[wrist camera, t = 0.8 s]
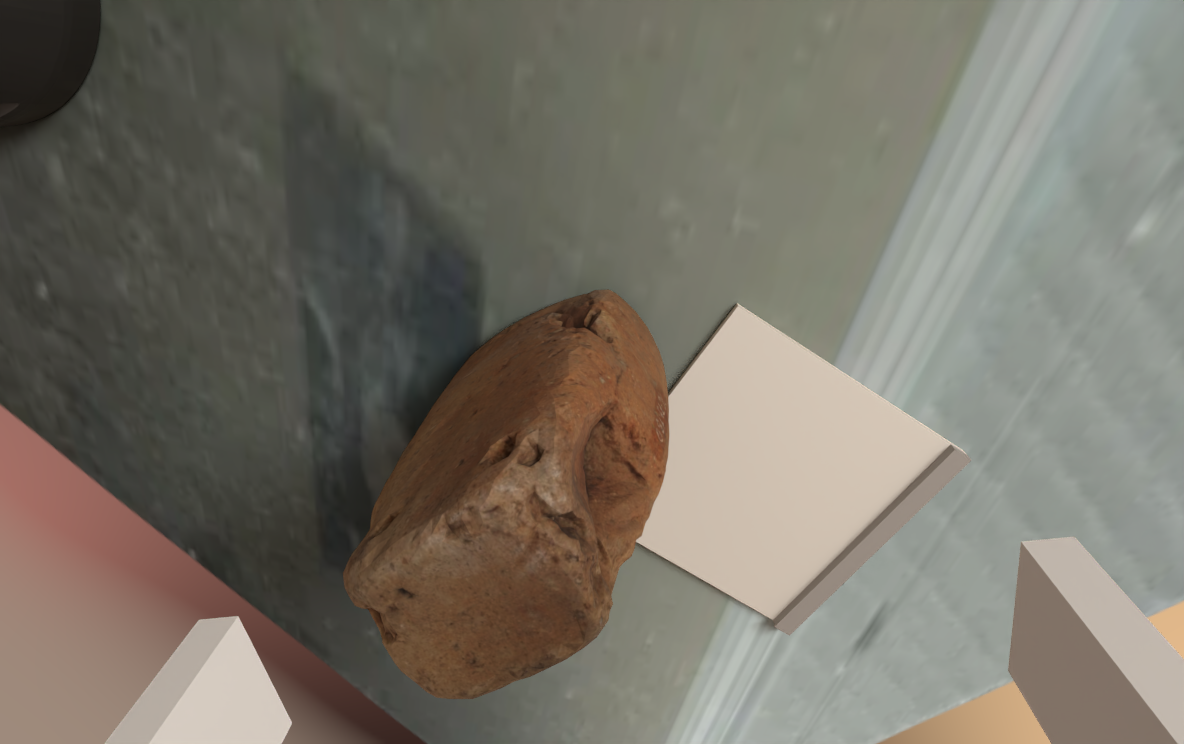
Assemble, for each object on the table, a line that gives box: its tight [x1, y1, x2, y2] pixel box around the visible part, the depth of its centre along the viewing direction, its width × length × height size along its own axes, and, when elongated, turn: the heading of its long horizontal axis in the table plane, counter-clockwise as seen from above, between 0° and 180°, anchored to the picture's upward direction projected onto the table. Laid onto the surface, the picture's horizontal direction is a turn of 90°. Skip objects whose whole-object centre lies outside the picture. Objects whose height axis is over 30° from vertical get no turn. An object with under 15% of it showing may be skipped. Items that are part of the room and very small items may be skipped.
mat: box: [636, 303, 971, 635], centre depth 41 cm, size 16×16×1 cm
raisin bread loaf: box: [343, 290, 669, 699], centre depth 31 cm, size 11×8×20 cm
